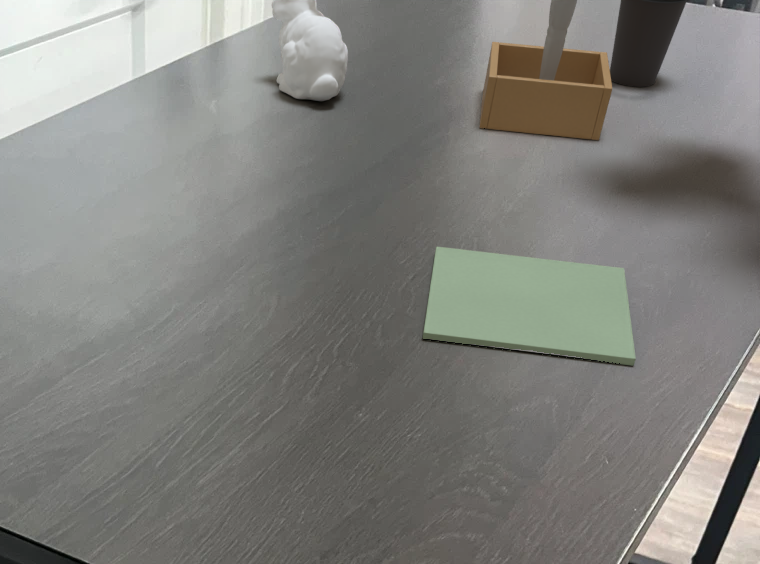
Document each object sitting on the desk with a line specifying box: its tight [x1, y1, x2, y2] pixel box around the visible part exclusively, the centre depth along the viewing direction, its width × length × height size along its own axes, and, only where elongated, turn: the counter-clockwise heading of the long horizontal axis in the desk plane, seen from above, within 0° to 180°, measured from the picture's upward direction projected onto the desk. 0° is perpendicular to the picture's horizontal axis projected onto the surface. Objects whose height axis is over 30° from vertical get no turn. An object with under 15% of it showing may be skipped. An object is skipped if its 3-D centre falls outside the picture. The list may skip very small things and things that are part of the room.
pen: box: [539, 0, 578, 81], centre depth 116 cm, size 2×3×14 cm
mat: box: [422, 246, 636, 367], centre depth 89 cm, size 16×16×1 cm
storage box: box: [479, 41, 613, 141], centre depth 119 cm, size 13×13×5 cm
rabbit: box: [271, 0, 349, 102], centre depth 120 cm, size 12×9×12 cm
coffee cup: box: [609, 0, 690, 88], centre depth 127 cm, size 8×8×10 cm
